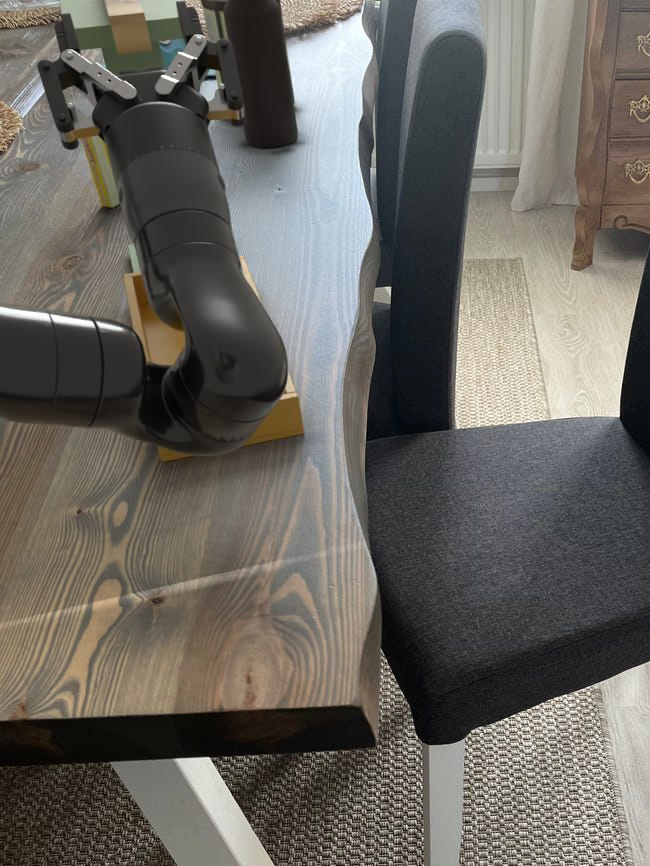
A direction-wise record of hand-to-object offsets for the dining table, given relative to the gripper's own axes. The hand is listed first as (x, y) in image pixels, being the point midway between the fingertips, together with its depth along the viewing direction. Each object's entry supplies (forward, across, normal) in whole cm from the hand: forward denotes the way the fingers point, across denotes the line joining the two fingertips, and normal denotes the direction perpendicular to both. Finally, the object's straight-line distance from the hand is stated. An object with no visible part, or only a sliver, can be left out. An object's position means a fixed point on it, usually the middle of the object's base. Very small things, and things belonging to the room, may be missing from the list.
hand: (125, 15), depth 77 cm
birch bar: (+6, 0, -6) cm, 8 cm away
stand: (-1, 0, -29) cm, 29 cm away
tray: (-19, 0, -19) cm, 27 cm away
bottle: (+28, +16, -46) cm, 56 cm away
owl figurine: (+56, +6, -62) cm, 84 cm away
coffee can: (+39, +16, -53) cm, 68 cm away
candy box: (+20, -1, -42) cm, 47 cm away
